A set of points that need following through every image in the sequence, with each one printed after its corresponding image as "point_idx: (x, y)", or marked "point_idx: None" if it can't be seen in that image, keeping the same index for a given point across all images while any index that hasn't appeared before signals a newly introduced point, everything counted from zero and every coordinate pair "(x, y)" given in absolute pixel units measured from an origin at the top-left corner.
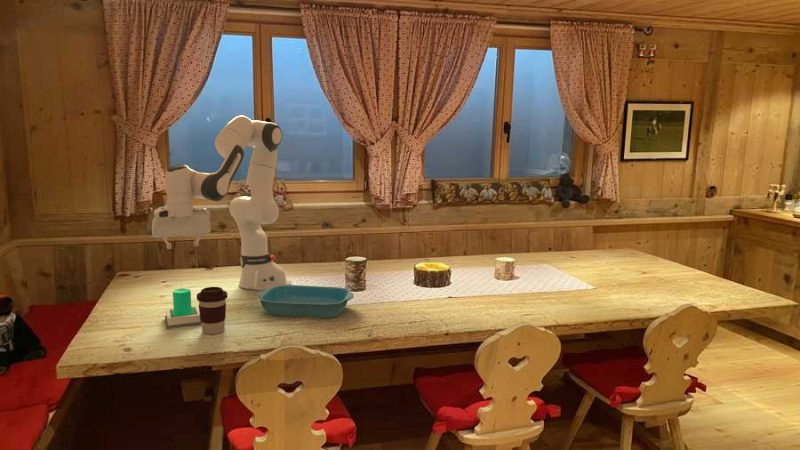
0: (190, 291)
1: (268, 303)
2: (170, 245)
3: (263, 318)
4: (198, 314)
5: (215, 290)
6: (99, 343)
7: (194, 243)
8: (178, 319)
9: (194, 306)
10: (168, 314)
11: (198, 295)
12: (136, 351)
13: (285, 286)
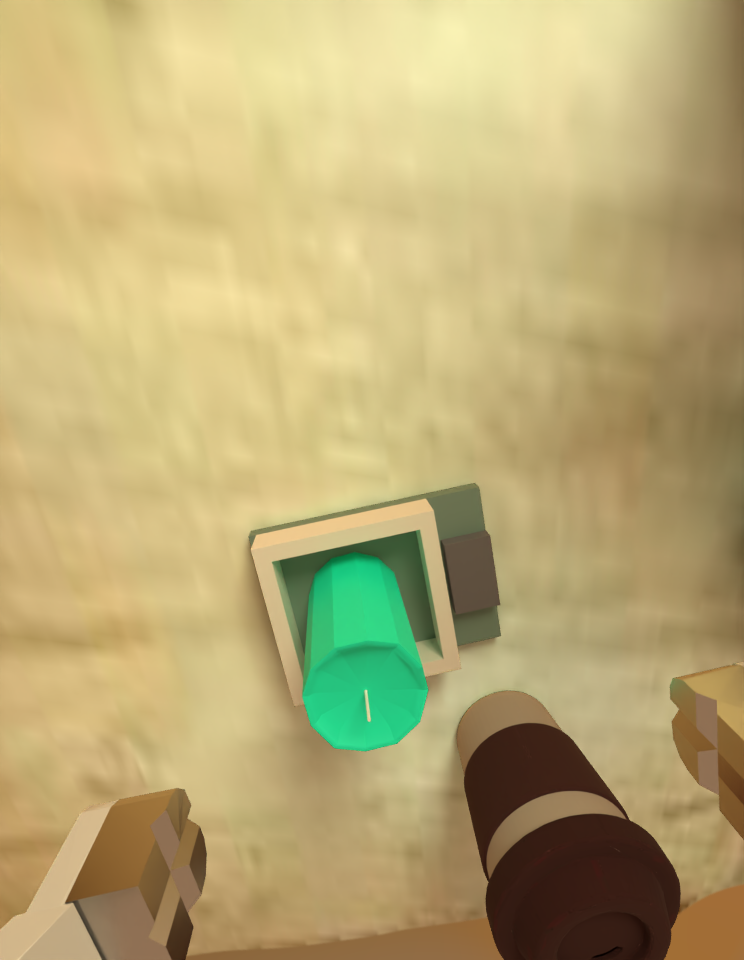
0: (427, 691)
1: None
2: (169, 944)
3: (734, 599)
4: (445, 662)
5: (621, 928)
6: (29, 808)
7: (709, 711)
8: None
9: (414, 523)
10: (283, 643)
11: (505, 943)
12: (217, 891)
13: None
